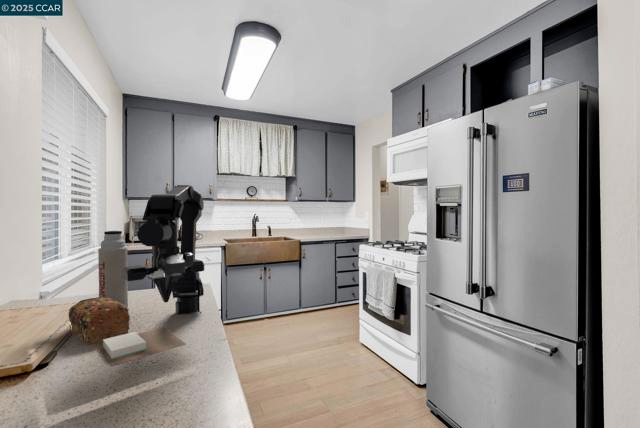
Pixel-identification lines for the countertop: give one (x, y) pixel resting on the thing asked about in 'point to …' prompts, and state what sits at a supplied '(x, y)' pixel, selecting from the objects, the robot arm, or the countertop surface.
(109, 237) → the thermos bottle
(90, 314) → the bread
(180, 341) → the board
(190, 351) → the countertop surface
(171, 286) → the robot arm
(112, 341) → the tile
